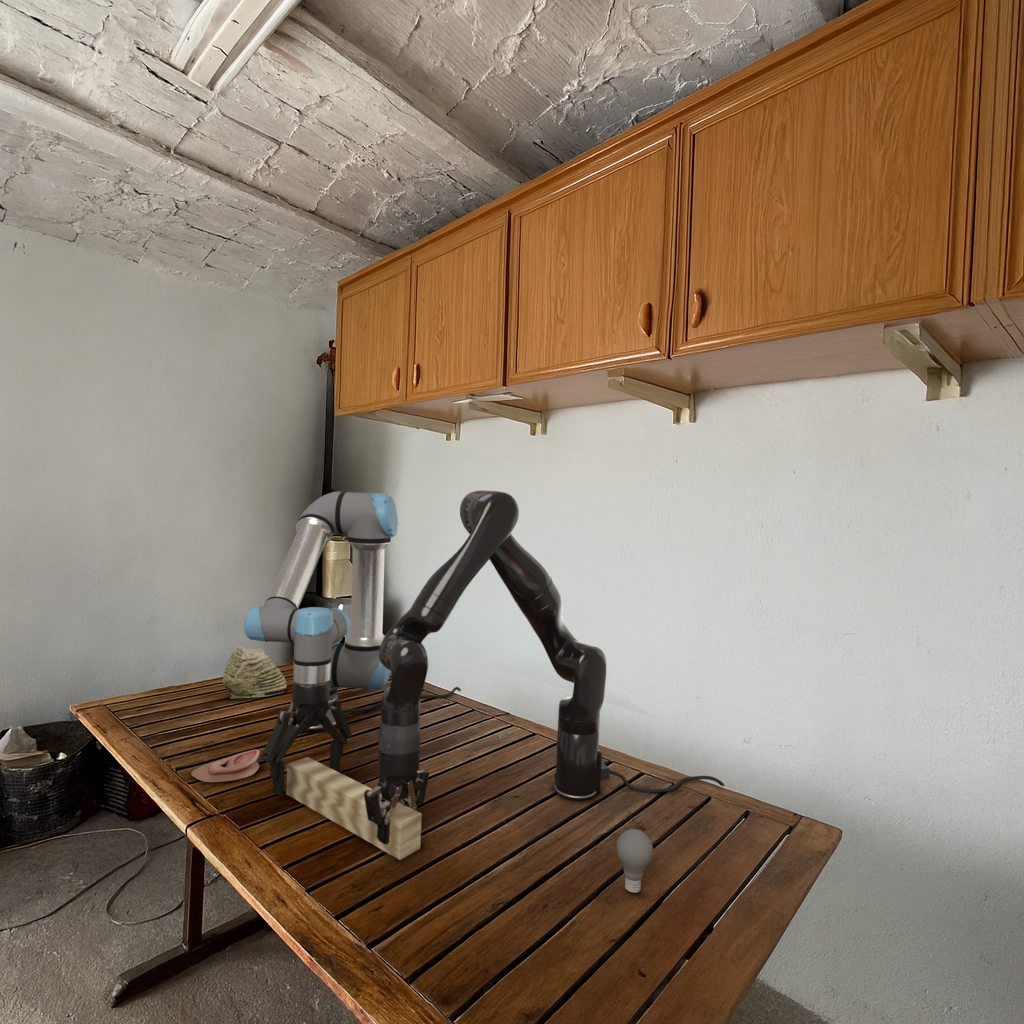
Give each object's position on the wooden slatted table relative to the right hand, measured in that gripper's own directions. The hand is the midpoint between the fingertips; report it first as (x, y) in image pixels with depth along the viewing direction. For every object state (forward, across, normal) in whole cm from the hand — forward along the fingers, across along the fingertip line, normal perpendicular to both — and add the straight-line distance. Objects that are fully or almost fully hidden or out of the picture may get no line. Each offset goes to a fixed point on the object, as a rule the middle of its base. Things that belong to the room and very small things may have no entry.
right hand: (395, 835), depth 116 cm
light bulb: (+2, -18, +39) cm, 43 cm away
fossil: (+2, -27, -97) cm, 101 cm away
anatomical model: (+2, +6, -51) cm, 51 cm away
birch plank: (+2, 0, -14) cm, 14 cm away
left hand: (-1, 0, -28) cm, 28 cm away
